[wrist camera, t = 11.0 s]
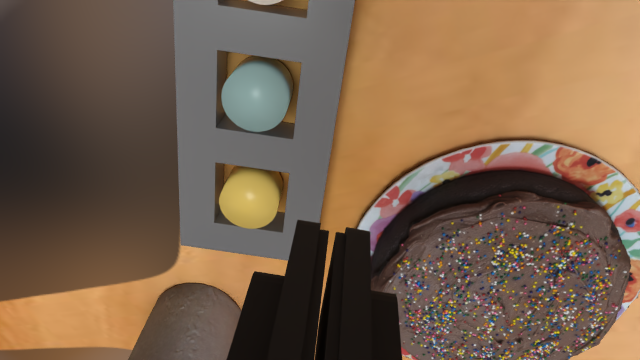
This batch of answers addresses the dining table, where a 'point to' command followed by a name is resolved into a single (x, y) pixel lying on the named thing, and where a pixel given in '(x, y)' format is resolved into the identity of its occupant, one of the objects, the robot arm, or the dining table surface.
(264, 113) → the teal button
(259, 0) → the ivory button
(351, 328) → the robot arm
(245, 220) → the mustard button
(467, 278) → the chocolate cake
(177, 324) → the pillar candle
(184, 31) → the console
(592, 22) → the dining table surface
